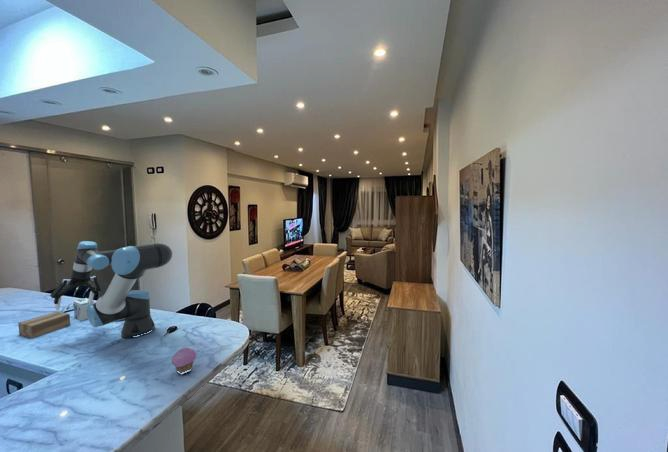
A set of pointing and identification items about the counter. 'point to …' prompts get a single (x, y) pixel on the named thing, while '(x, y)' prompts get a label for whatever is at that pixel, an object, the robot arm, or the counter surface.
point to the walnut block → (44, 324)
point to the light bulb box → (81, 308)
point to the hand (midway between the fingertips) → (73, 306)
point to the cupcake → (184, 359)
